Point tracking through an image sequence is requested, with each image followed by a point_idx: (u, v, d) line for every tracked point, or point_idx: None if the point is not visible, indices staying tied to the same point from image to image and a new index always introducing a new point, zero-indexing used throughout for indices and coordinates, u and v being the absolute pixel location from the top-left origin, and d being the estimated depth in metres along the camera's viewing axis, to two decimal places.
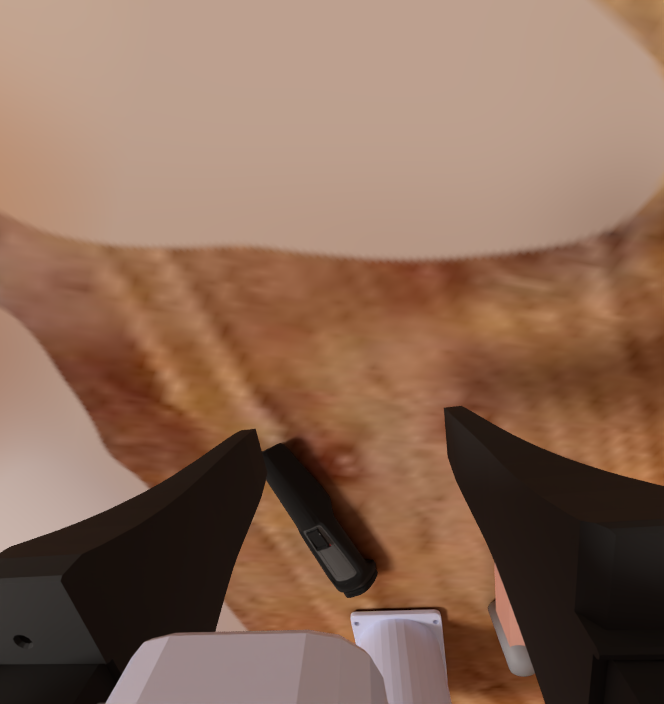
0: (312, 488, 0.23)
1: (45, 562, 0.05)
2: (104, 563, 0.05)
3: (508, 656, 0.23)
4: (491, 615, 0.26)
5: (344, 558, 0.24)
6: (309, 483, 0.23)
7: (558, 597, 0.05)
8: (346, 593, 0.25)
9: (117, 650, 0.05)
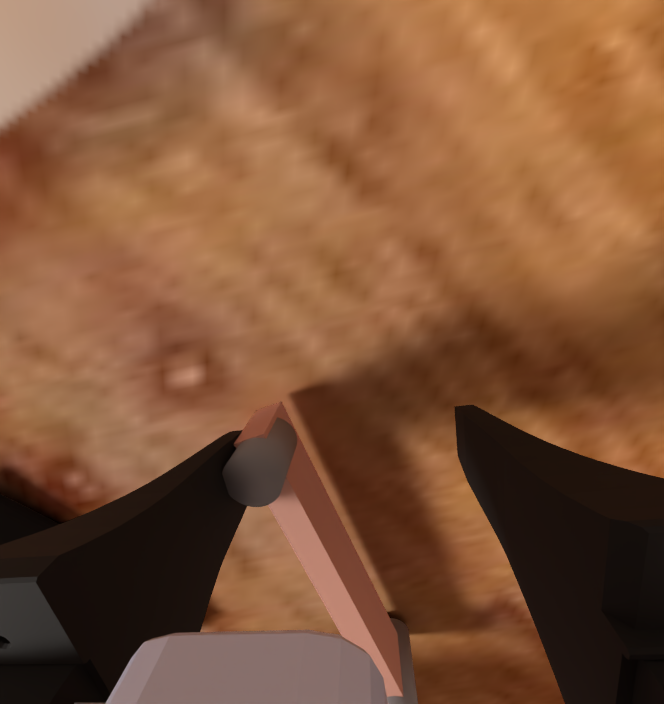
0: None
1: (22, 563, 0.05)
2: (82, 564, 0.05)
3: None
4: None
5: None
6: (26, 529, 0.16)
7: (582, 596, 0.05)
8: None
9: (94, 651, 0.05)
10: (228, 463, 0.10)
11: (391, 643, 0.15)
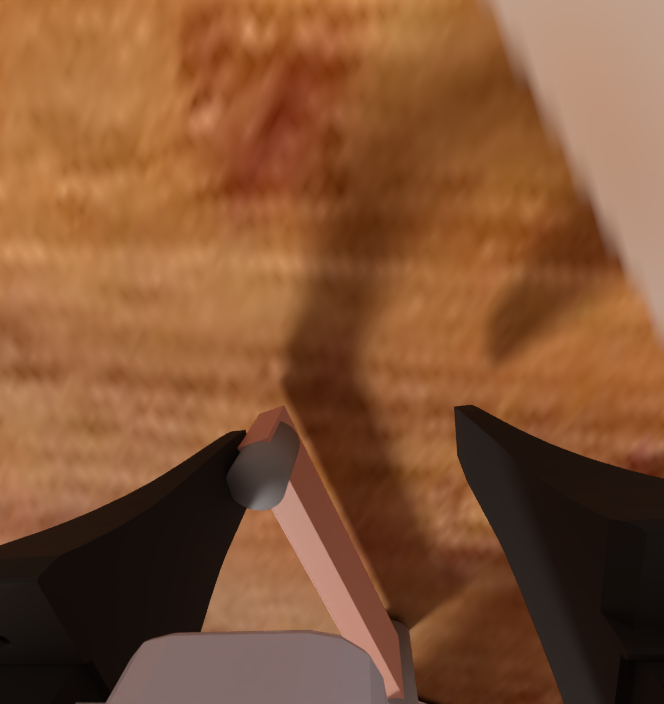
0: None
1: (23, 563, 0.05)
2: (83, 564, 0.05)
3: None
4: None
5: None
6: None
7: (581, 596, 0.05)
8: None
9: (96, 651, 0.05)
10: (232, 467, 0.10)
11: (392, 646, 0.15)
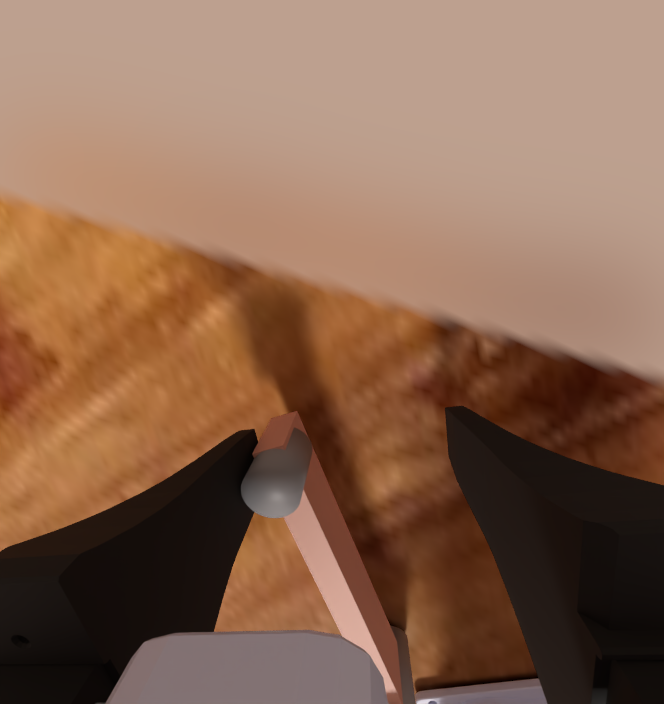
0: None
1: (42, 562, 0.05)
2: (102, 563, 0.05)
3: None
4: None
5: None
6: None
7: (560, 597, 0.05)
8: None
9: (114, 652, 0.05)
10: (248, 474, 0.10)
11: (392, 652, 0.15)
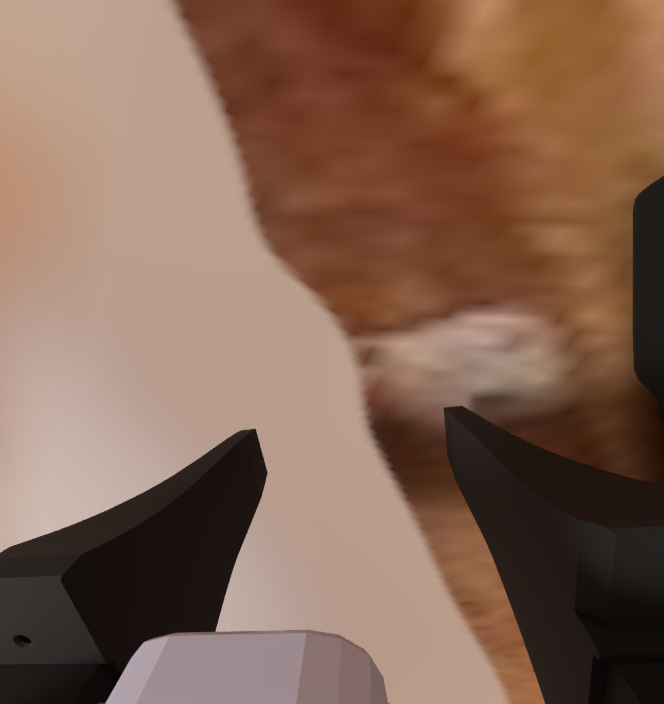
0: None
1: (45, 562, 0.05)
2: (104, 563, 0.05)
3: None
4: None
5: None
6: None
7: (558, 597, 0.05)
8: None
9: (117, 651, 0.05)
10: None
11: None
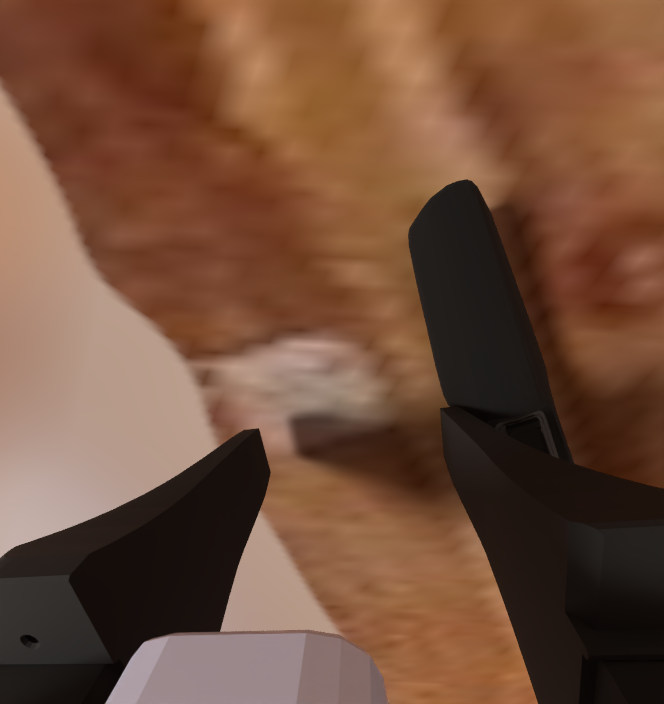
0: (530, 325, 0.10)
1: (52, 562, 0.05)
2: (111, 563, 0.05)
3: None
4: None
5: None
6: (525, 312, 0.10)
7: (549, 597, 0.05)
8: None
9: (123, 651, 0.05)
10: None
11: None
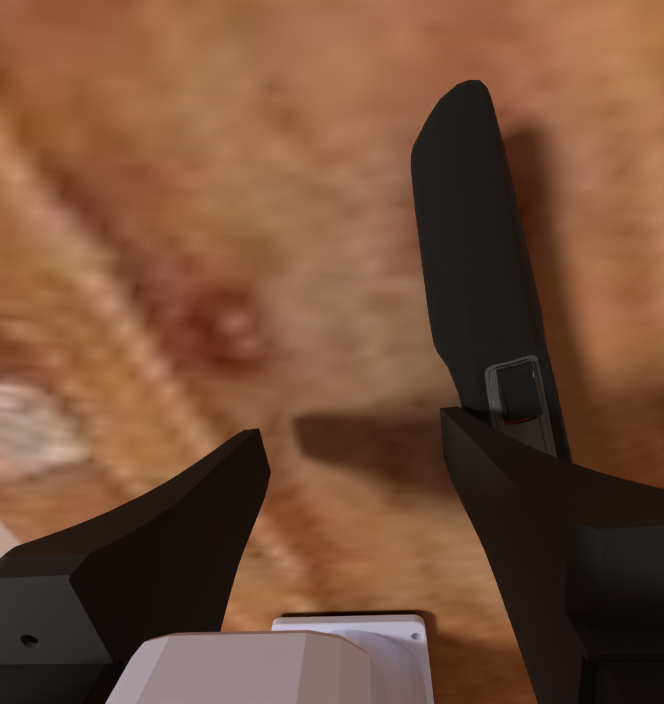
0: (530, 265, 0.09)
1: (52, 562, 0.05)
2: (111, 563, 0.05)
3: None
4: None
5: (552, 454, 0.10)
6: (527, 250, 0.09)
7: (549, 597, 0.05)
8: None
9: (123, 651, 0.05)
10: None
11: None
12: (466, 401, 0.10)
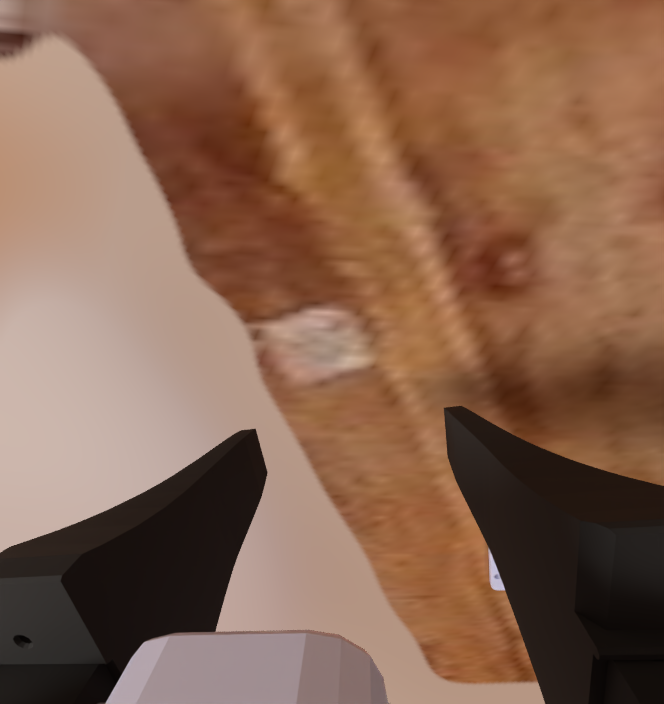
0: None
1: (45, 562, 0.05)
2: (104, 563, 0.05)
3: None
4: None
5: None
6: None
7: (558, 597, 0.05)
8: None
9: (116, 652, 0.05)
10: None
11: None
12: None
